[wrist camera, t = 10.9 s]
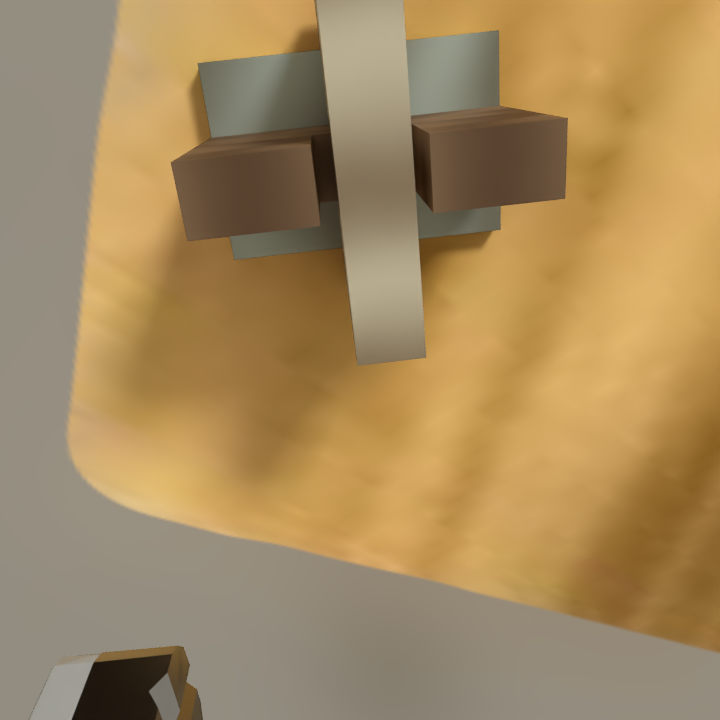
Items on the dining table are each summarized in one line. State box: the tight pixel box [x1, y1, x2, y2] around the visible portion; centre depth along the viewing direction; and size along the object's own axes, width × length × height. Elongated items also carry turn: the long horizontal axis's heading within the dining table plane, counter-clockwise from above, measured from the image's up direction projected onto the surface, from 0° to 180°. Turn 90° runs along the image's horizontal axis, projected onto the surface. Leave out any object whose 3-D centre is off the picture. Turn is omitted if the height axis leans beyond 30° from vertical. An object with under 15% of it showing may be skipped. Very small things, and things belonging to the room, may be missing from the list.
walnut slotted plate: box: [171, 30, 568, 260], centre depth 24 cm, size 12×8×9 cm, turn 96°
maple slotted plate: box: [315, 0, 426, 366], centre depth 23 cm, size 12×2×8 cm, turn 6°
